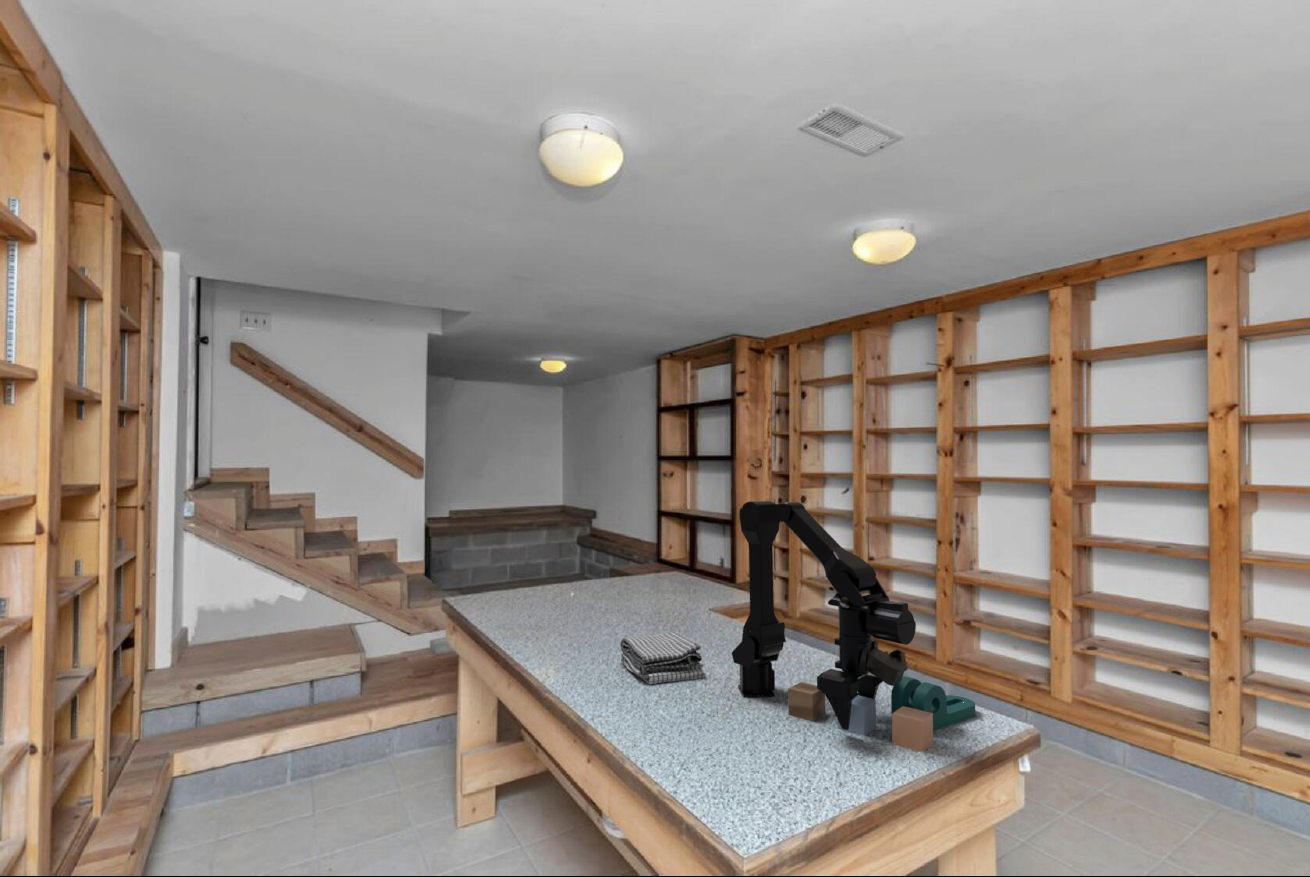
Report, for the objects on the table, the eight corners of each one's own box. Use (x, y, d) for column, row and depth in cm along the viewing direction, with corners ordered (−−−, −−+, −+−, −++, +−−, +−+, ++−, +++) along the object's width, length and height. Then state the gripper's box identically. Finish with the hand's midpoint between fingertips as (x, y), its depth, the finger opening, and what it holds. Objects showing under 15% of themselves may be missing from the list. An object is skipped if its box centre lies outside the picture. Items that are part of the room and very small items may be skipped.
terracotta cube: (922, 752, 105) (922, 721, 105) (892, 744, 108) (891, 713, 108) (933, 743, 108) (932, 713, 109) (903, 735, 112) (903, 706, 112)
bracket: (924, 735, 112) (923, 689, 113) (891, 722, 118) (890, 679, 118) (982, 715, 122) (981, 672, 122) (949, 704, 127) (948, 664, 128)
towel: (675, 658, 160) (675, 626, 161) (707, 680, 143) (707, 644, 144) (617, 664, 155) (618, 631, 155) (643, 687, 138) (643, 650, 138)
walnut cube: (812, 721, 118) (812, 694, 118) (788, 715, 121) (788, 688, 121) (825, 714, 122) (825, 687, 122) (801, 708, 125) (801, 682, 125)
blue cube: (864, 736, 111) (864, 706, 112) (837, 728, 115) (837, 700, 115) (876, 728, 115) (875, 699, 115) (849, 721, 118) (849, 693, 119)
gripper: (877, 651, 104) (879, 751, 103) (919, 631, 117) (921, 718, 116) (814, 640, 111) (816, 732, 110) (861, 622, 125) (862, 704, 124)
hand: (856, 721), depth 115 cm, fingers open, 9 cm apart
